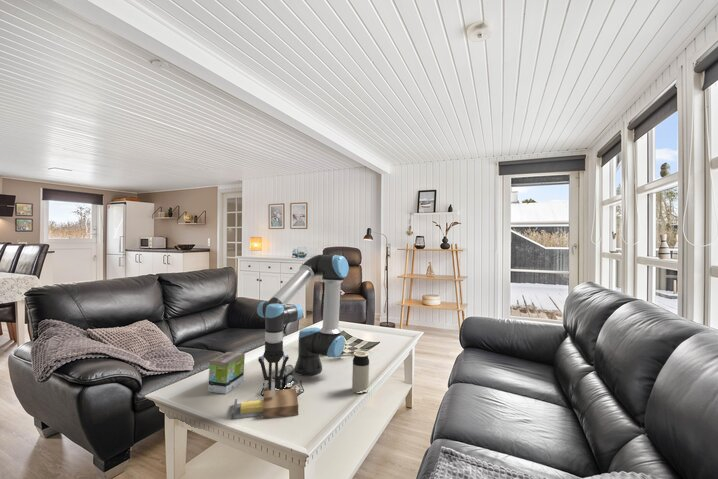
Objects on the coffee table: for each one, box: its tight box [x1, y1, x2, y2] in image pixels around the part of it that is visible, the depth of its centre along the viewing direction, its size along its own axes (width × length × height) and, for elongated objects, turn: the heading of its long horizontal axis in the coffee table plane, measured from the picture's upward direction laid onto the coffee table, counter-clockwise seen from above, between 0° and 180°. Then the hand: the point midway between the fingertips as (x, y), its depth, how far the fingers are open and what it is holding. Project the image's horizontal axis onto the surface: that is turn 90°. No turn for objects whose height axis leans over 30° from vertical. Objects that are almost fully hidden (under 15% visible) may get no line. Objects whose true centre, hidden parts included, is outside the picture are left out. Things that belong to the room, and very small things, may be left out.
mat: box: [231, 398, 263, 420], centre depth 139 cm, size 12×12×2 cm
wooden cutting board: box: [262, 388, 299, 420], centre depth 142 cm, size 14×16×4 cm
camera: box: [272, 364, 296, 390], centre depth 161 cm, size 15×7×10 cm, turn 159°
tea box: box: [207, 351, 246, 395], centre depth 161 cm, size 15×10×15 cm, turn 168°
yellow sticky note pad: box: [240, 399, 264, 414], centre depth 139 cm, size 9×6×2 cm, turn 105°
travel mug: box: [351, 350, 370, 393], centre depth 161 cm, size 8×8×18 cm
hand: (272, 395), depth 142 cm, fingers closed
